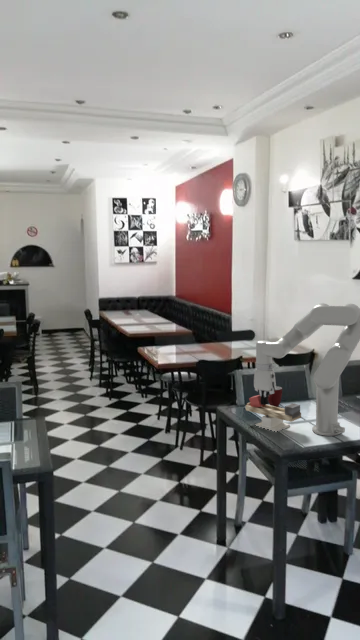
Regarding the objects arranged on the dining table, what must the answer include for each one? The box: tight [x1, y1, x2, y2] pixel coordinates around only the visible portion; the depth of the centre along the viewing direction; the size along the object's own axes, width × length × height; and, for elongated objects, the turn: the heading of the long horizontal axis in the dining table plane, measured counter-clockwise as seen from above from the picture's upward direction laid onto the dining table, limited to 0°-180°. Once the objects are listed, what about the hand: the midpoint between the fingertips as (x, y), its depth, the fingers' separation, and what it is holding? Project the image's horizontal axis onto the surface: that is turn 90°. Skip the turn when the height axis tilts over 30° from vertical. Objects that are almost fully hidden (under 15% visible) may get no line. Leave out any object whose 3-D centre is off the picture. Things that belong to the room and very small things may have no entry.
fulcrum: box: [254, 415, 291, 433], centre depth 242 cm, size 12×11×5 cm
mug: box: [268, 385, 283, 407], centre depth 273 cm, size 10×8×10 cm
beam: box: [245, 402, 302, 423], centre depth 241 cm, size 26×9×7 cm, turn 44°
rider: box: [248, 394, 263, 407], centre depth 248 cm, size 5×5×5 cm
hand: (264, 404), depth 245 cm, fingers closed
